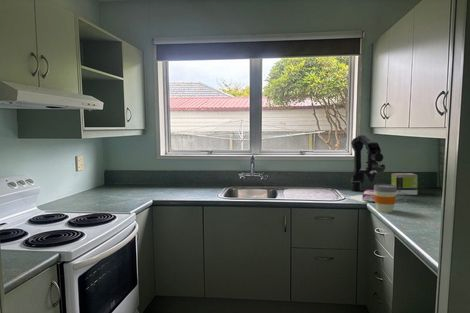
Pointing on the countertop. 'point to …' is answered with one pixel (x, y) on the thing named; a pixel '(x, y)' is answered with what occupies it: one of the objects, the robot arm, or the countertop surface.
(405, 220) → the countertop surface
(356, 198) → the mat
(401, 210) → the countertop surface
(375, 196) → the reusable coffee cup
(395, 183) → the tea box
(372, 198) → the candy bar box
